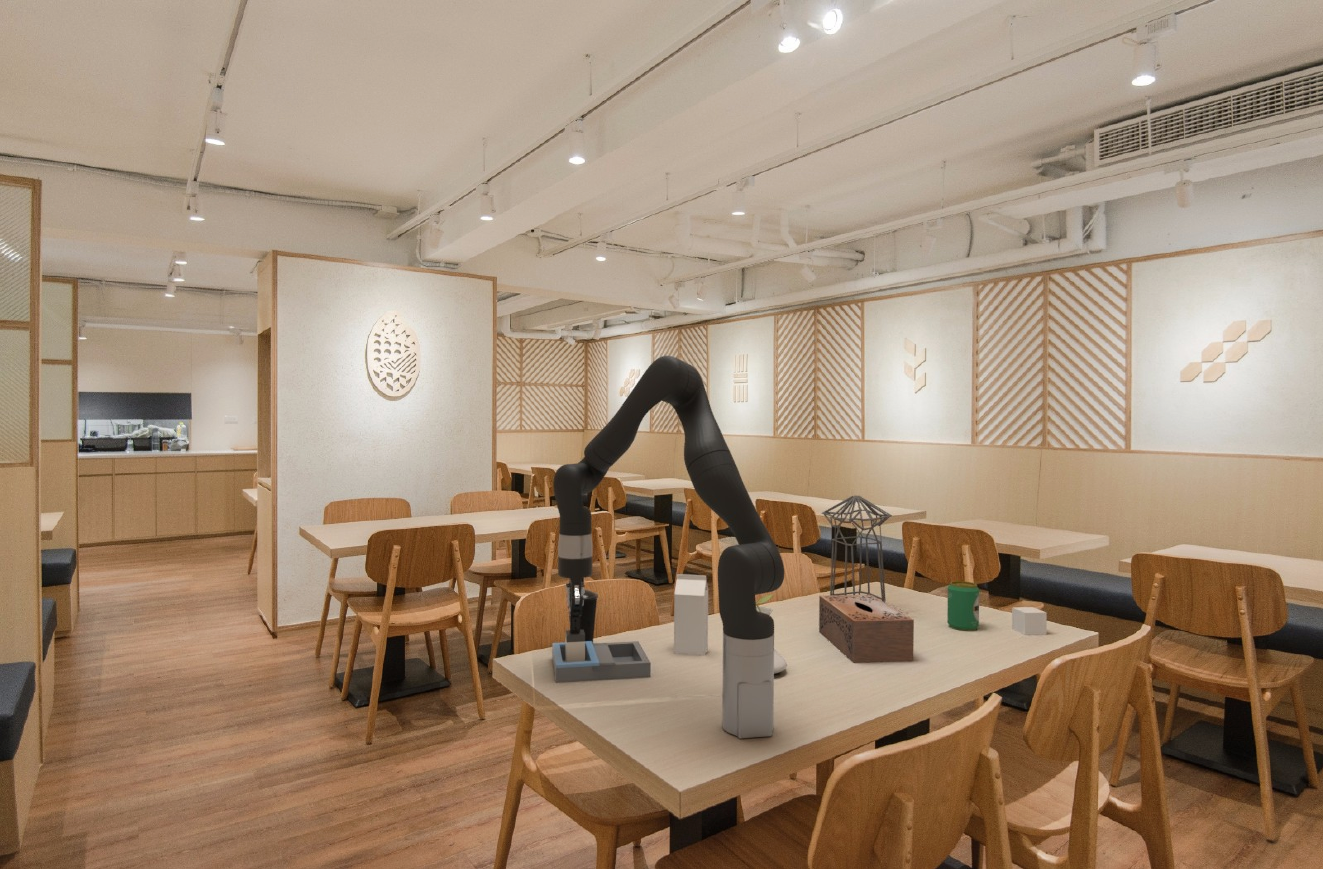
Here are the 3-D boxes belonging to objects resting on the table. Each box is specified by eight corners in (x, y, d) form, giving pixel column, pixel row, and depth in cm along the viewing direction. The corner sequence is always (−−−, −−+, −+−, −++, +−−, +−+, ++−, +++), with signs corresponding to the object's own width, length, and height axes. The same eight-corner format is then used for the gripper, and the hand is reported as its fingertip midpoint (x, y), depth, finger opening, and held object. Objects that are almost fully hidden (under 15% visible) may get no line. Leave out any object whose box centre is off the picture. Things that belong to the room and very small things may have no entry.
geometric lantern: (895, 619, 209) (895, 497, 208) (846, 624, 205) (845, 499, 204) (866, 605, 224) (865, 491, 223) (819, 609, 220) (818, 493, 219)
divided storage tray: (650, 681, 157) (650, 659, 156) (556, 687, 153) (556, 665, 153) (638, 658, 172) (638, 638, 172) (552, 662, 168) (552, 642, 168)
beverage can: (976, 633, 195) (976, 588, 195) (944, 628, 200) (945, 584, 199) (980, 626, 202) (981, 582, 202) (950, 622, 206) (950, 579, 206)
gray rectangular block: (584, 671, 160) (585, 634, 160) (566, 672, 159) (566, 635, 159) (583, 665, 164) (583, 629, 164) (565, 666, 163) (565, 630, 163)
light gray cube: (1032, 628, 200) (1033, 606, 200) (1046, 635, 194) (1046, 612, 194) (1011, 629, 200) (1012, 607, 199) (1024, 635, 194) (1025, 612, 194)
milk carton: (703, 659, 172) (704, 578, 171) (673, 657, 173) (674, 577, 173) (707, 650, 179) (708, 572, 178) (679, 648, 180) (679, 571, 180)
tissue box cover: (913, 662, 171) (913, 620, 171) (853, 664, 170) (853, 621, 170) (871, 632, 197) (871, 594, 197) (819, 633, 195) (819, 595, 195)
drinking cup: (559, 653, 176) (560, 569, 176) (577, 644, 182) (578, 564, 182) (586, 658, 172) (586, 573, 172) (603, 649, 179) (604, 567, 179)
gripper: (595, 559, 155) (595, 640, 156) (589, 548, 168) (589, 623, 169) (559, 560, 154) (559, 642, 154) (556, 549, 167) (556, 625, 167)
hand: (574, 632), depth 161 cm, fingers closed
